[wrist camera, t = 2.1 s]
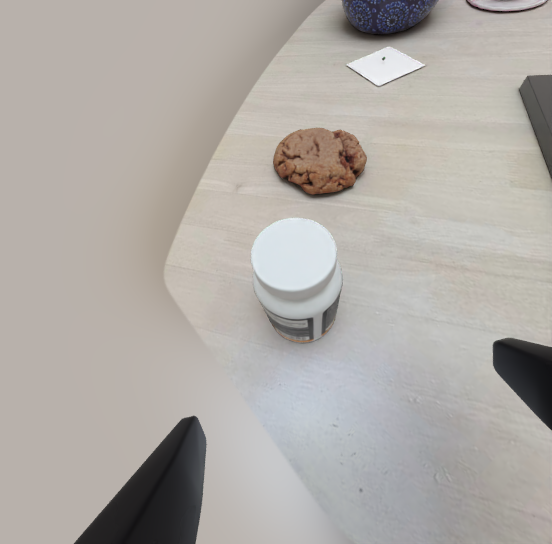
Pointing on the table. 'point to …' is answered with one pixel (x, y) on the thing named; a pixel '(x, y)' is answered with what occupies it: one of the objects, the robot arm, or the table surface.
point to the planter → (386, 14)
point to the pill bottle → (297, 278)
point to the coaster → (385, 65)
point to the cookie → (320, 159)
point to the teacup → (506, 4)
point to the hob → (540, 111)
